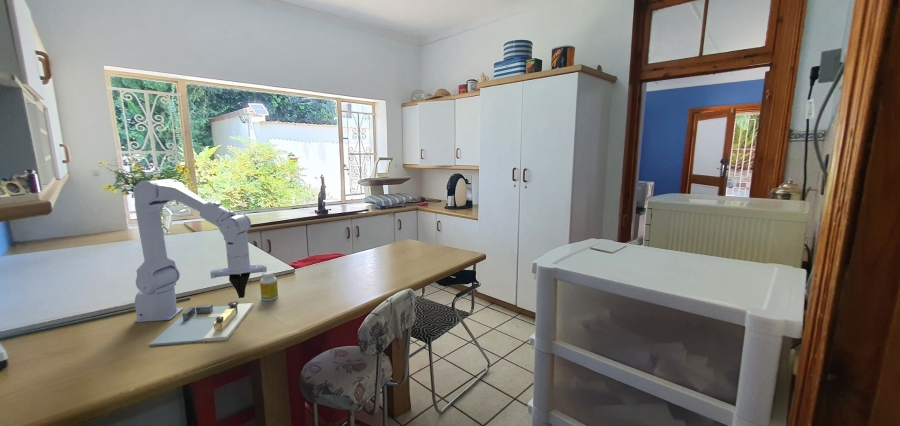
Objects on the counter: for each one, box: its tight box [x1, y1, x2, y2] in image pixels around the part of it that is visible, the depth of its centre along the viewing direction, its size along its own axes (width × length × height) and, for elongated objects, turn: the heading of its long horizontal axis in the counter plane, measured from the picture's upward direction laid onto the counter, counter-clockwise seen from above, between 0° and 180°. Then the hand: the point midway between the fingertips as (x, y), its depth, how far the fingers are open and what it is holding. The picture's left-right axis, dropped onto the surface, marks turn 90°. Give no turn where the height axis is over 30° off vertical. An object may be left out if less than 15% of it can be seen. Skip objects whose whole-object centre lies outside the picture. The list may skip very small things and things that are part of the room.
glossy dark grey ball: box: [227, 300, 239, 314], centre depth 111 cm, size 3×3×4 cm
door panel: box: [149, 302, 255, 347], centre depth 106 cm, size 19×22×1 cm
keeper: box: [181, 303, 214, 321], centre depth 109 cm, size 6×6×2 cm
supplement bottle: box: [259, 270, 279, 302], centre depth 124 cm, size 5×5×10 cm
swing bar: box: [213, 307, 236, 330], centre depth 104 cm, size 10×2×3 cm, turn 12°
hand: (241, 296), depth 106 cm, fingers closed
